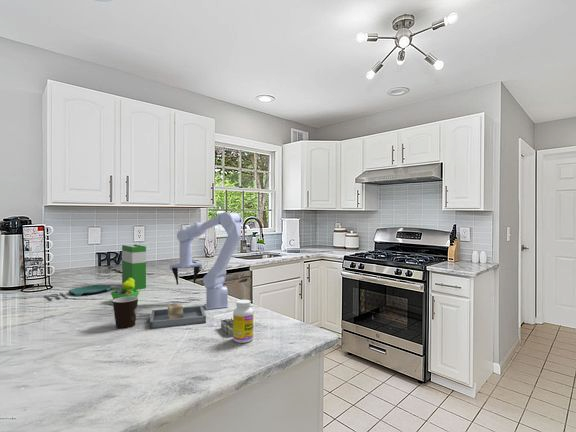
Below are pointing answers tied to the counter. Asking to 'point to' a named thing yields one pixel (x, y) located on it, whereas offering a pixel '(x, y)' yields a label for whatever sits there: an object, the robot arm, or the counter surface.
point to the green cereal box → (134, 265)
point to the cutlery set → (83, 290)
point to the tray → (189, 317)
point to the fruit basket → (126, 290)
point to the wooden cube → (175, 311)
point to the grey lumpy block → (227, 326)
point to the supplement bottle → (243, 322)
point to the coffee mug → (125, 311)
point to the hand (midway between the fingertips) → (185, 283)
